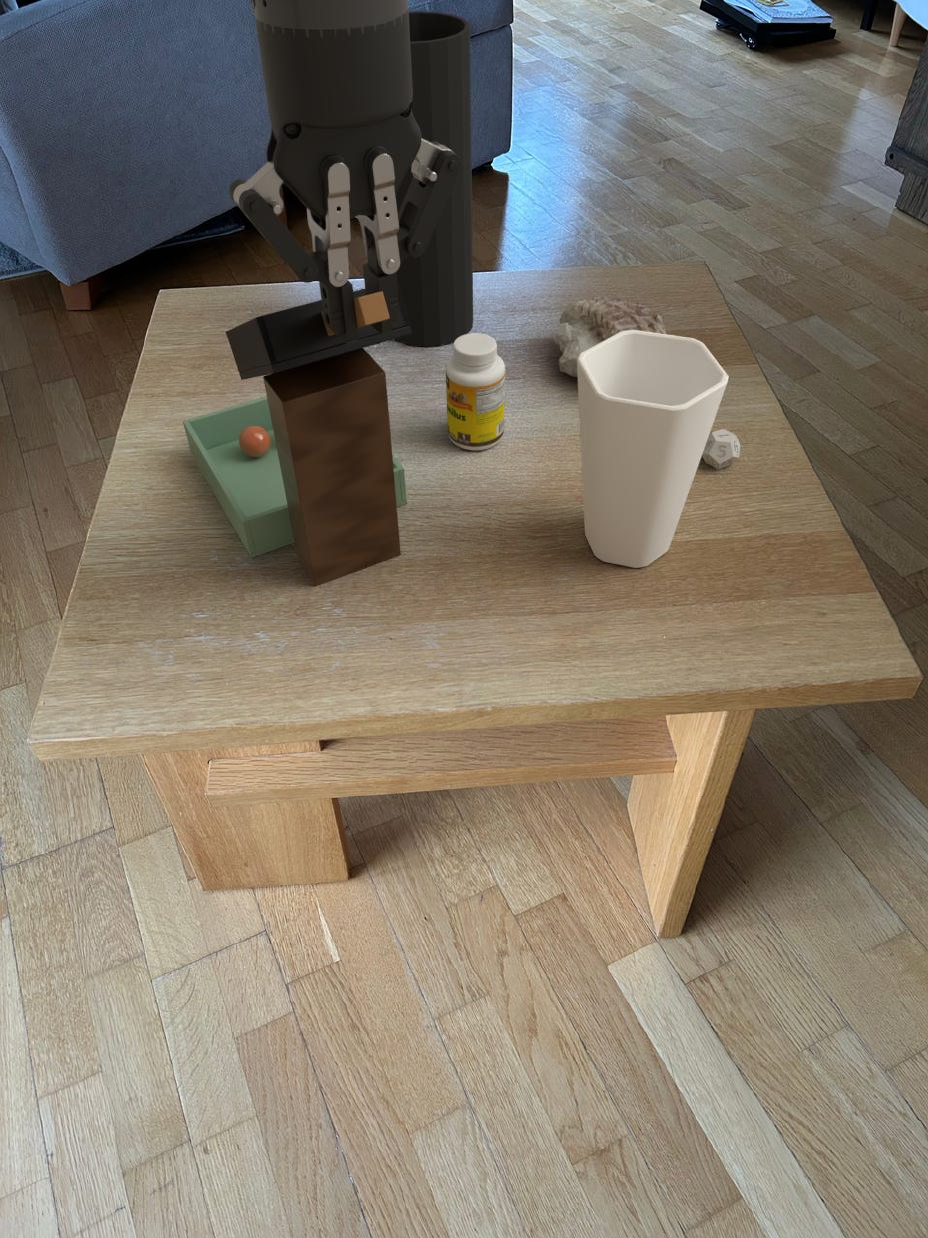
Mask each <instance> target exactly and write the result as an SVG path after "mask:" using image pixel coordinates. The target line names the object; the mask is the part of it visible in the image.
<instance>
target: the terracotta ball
mask: <svg viewBox="0 0 928 1238" xmlns="http://www.w3.org/2000/svg"><path fill="white" fill-rule="evenodd" d="M270 445H271V439H270V435H269V434H268V432H267V431H266V430H265V429H264V428H262V427H260V426H256V425H252V426H248V427H246V428H245V429H244V430H243V431H242V432H241V433H240V436H239V446H240V448H241V450H242V451H243V452H244V453H245V454H246V455H248V456H250V457H261V456H263V455H265V454H266V453H267V452H268V450H269V448H270Z"/></svg>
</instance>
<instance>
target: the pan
mask: <svg viewBox="0 0 928 1238" xmlns="http://www.w3.org/2000/svg"><path fill="white" fill-rule="evenodd" d="M397 286H398V300H399V302H398V303H399V315H398V319H397V321H393V322H392V331H391V332H388V333H384V334H379V332H378V331H377V330H376V329H375V328H374V327H373V326H372V325H371V324H374V323H377V322H381V321H384V320H388V319H390V317H389V313H388V309H387V306H386V302H385V299H384V295H383V292H382V291H380V292H377V293H373V294H369V295H366V293H365V288H362V289H358V290H353V294H354V304H355V313H356V323H357V332H358V340H357V341H354V342H350V343H345V342H344V341H343V340H342V339H341V338H340V337H339V336H336V335H335V334H334V332H333V331H332V330H331V329H330V328H329V327H328V326H327V324H326V322H325V320H324V316H323V308H322V300H321V299H320V300H316V301H311V302H309V303H304V304H301V305H297V306H293V307H289V308H285V309H282V310H278V311H277V310H276V311H274V312H271V313H267V314H263V315H259V316H255V317H253V318H252V319H250V320H247V321H245V322H243V323H241V324H239V325H237V326H234V327H233V328H230V329H228V330H226V331H225V334H226V337H227V340H228V343H229V347H230V349H231V353H232V356H233V359H234V362H235V364H236V367H237V371H238V374H239V378H240V380H242V381H244V380H248V379H254V378H258V377H263V376H266V375H269V374H273V373H277V372H281V371H284V370H288V369H291V368H295V367H298V366H302V365H305V364H309V363H312V362H316V361H319V360H323V359H326V358H330V357H333V356H337V355H340V354H344V353H347V352H351V351H354V350H358V349H361V348H364V349H365V348H369V347H372V346H376V345H378V344H382V343H386V342H389V341H393V340H396V338H400V337H403V336H407V335H410V334H412V332H411V328H410V325H409V320H408V317H407V313H406V309H405V306H404V302H403V298H402V295H401V291H400V287H399V283H398V280H397Z"/></svg>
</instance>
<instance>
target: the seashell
mask: <svg viewBox="0 0 928 1238" xmlns="http://www.w3.org/2000/svg"><path fill="white" fill-rule="evenodd" d="M627 330H639V331H646V332H653V333H660V334H667V330H666V326H665V323H664V314H663V313H662V312H661V313H659V314H656V313H654V311H652V309H651V308H650V307H649V306H643V305H642V304H641V303H640V302H638V301H636V302H633V301H631V300H630V299H628V298H626V300H625V301H623V299H621V297H619V296H617V295H615V299H613V300H611V299H609V298H607V297H606V296H602V297H600V298H598V297H597V296H594V297H592V298H590V299H589V300H587V299H585V298H584V299H582V300H578V301H575V302H573V303H571V304H569V305H567V306H566V308H565V309H564V310H563V311H562V313H561V315H560V318H559V324H558V329H557V332H555V333H553V339H554V344H555V346H557V347H558V348H559V351H561V352H562V355H561V356H560V357H559V359H558V366H559V371H560V372H562V373H566V374H567V375H568V376H571V377H572V378H578V374H577V359H578V357H579V354H580V353H582V352H584V351H586V350H588V349H590V348H592V347H593V346H595V345H597V344H599V343H601V342H603V341H605V340H607V339H608V338H610V337H612V336H614V335H616V334H618V333H620V332H622V331H627Z"/></svg>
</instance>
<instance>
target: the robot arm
mask: <svg viewBox="0 0 928 1238" xmlns="http://www.w3.org/2000/svg"><path fill="white" fill-rule="evenodd" d="M249 2H250V4H251V5H252V8H253V13H254V21H255V27H256V34H257V41H258V46H259V53H260V61H261V67H262V74H263V81H264V88H265V93H266V101H267V109H268V113H269V120H270V125H271V126H270V127H271V128H270V135H269V139H268V143H267V146H266V153H265V154H266V155H265V156H266V161H267V162H266V163H265V164H264V165H263V166H262V167H260V169H258V170H257V171H256V172H255V173H254V174H253V175H252V176H251V177H250V178H249V179H248V180H245V179H240V178H239V179H235V180H233V182H231V184H230V185H229V188H228V194H229V197H230V199H231V200H232V201H233V203H235V205H236V206H237V207H238V208H239V209H240V210H241V212H242V214H243V215H244V216H245V217H246V218H247V219H248V220H249V222H250V223H251V224H252V225H253V226H254V227H255V229H256V231H258V232H259V234H260V235H261V236H262V237H263V238H264V239H265V241H266V242H267V243H268V245H269V246H270V247H271V248H272V249H273V251H274V252H275V253H276V254H277V255H278V257H279V258H280V259H281V260H282V262H284V264H285V265H286V266H287V267H288V268H289V269H290V270H291V272H292V273H294V275H295V276H296V277H297V278H298V279H299V280H300V281H301V282H303V283H306V284H309V283H313V282H318V284H319V289H320V290H319V291H320V298H321V299H320V300H322V308H323V316H324V320H325V322H326V324H327V326H328V327H329V328H330V329H331V330H332V331H333V332H334V334H335V335H336V336H339V337H340V338H341V339H342V340H343V341H344V342H345V343H350V342H354V341H357V340H358V332H357V323H356V313H355V304H354V294H353V291H354V286H353V283H351V281H350V280H349V278H350V266H349V265H350V264H349V263H350V262H349V245H351V241H352V238H351V237H352V235H351V220H352V219H355V218H357V220H358V222H359V225H360V230H361V237H362V243H363V244H362V245H363V249H364V254H365V256H366V257H367V262H366V263H363V264H362V272H363V281H364V282H363V283H364V289H365V293H366V295H369V294H373V293H377V292H380V291H382V292H383V295H384V299H385V302H386V306H387V309H388V313H389V317H390V319H388V320H384V321H381V322H377V323H374V324H371V325H372V326H373V327H374V328H375V329H376V330H377V331H378V332H379V334H384V333H388V332H391V331H392V322H393V321H397V319H398V315H399V303H398V302H399V300H398V286H397V270H398V269H399V266H400V264H401V263H402V262H403V261H404V260H406V259H407V258H409V257H411V256H413V257H420V256H422V255H423V254H424V253H425V251H426V249H427V246H428V244H429V242H430V239H431V237H432V235H433V232H434V230H435V228H436V225H437V223H438V221H439V219H440V216H441V214H442V212H443V209H444V207H445V205H446V202H447V200H448V198H449V195H450V193H451V191H452V188H453V186H454V184H455V181H456V179H457V177H458V174H459V172H460V170H461V167H462V161H461V158H460V157H459V156H458V155H457V154H455V153H454V152H453V151H452V150H450V149H449V148H447V147H446V146H444V145H441V144H440V143H438V142H435V141H433V142H429V141H427V140H425V139H423V138H422V136H421V131H420V128H419V126H418V124H417V123H416V121H415V119H414V116H413V113H412V108H411V106H412V98H413V88H412V70H411V51H410V30H409V12H410V11H409V0H249ZM411 165H412V168H411V171H412V175H413V179H412V181H411V184H410V186H409V189H408V191H407V193H406V196H405V198H404V201H403V203H402V206H401V208H400V211H399V213H397V205H396V195H397V193H398V191H399V189H400V187H401V185H402V183H403V181H404V179H405V177H406V175H407V173H408V171H409V169H410V167H411ZM283 184H284V185H285V186H286V187H287V188H288V189H289V190H290V192H291V193H292V194H294V196H295V198H296V197H297V199H298V200H299V201H300V203H302V204H303V205H304V207H306V215H307V224H308V228H309V231H310V233H311V240H312V241H311V242H312V250H306V249H304V247H303V246H302V245H301V243H300V242H299V240H297V238H296V237H295V236H294V235H293V234H292V232H291V231H290V229H288V227H287V226H286V225H285V223H284V222H283V221H282V220H281V218H280V217H279V216H280V215H281V214H282V212H283V211H284V209H285V204H284V200H283V198H282V196H281V192H280V191H281V186H282V185H283Z"/></svg>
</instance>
